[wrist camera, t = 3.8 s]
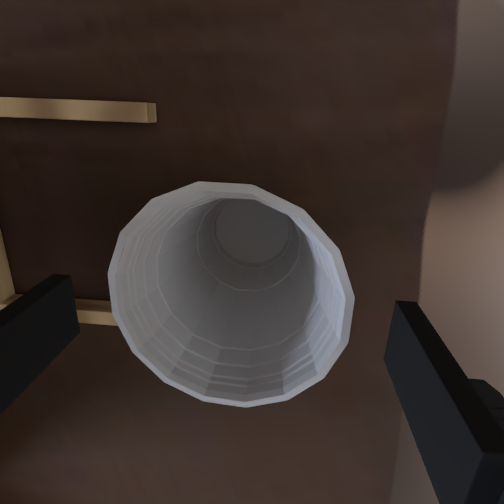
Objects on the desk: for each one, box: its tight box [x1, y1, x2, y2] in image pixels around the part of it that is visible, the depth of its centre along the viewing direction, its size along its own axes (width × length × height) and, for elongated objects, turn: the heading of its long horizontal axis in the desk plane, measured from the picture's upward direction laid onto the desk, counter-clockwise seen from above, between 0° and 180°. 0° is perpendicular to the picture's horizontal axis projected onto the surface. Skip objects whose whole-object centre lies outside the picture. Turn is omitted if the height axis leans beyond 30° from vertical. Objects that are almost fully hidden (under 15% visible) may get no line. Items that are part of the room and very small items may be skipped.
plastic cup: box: [107, 181, 355, 408], centre depth 21 cm, size 11×11×12 cm
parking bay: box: [0, 97, 157, 326], centre depth 26 cm, size 14×16×2 cm
